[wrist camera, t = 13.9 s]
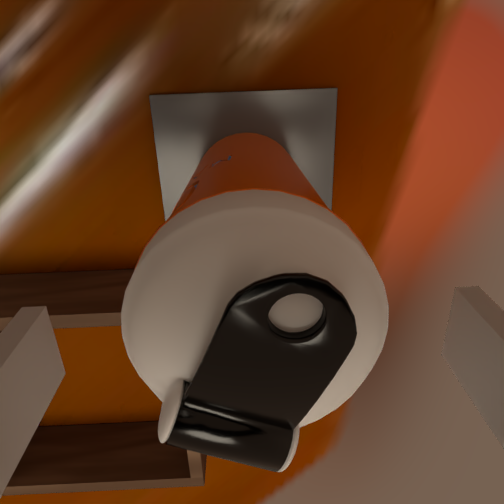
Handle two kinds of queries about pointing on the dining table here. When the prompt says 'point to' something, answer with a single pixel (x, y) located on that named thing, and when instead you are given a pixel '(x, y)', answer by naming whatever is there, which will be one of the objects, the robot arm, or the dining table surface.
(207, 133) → the slate board
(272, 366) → the shaker bottle
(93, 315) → the square wooden frame
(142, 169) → the dining table surface
